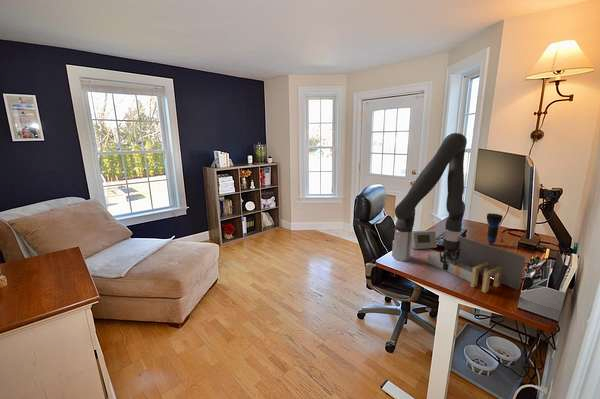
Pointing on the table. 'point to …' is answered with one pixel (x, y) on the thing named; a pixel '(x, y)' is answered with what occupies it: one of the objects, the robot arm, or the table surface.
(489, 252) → the firebox panel
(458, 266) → the grey slab
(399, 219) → the robot arm
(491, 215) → the flashlight
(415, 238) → the digital clock
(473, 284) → the beige arch
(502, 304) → the table surface
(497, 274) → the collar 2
